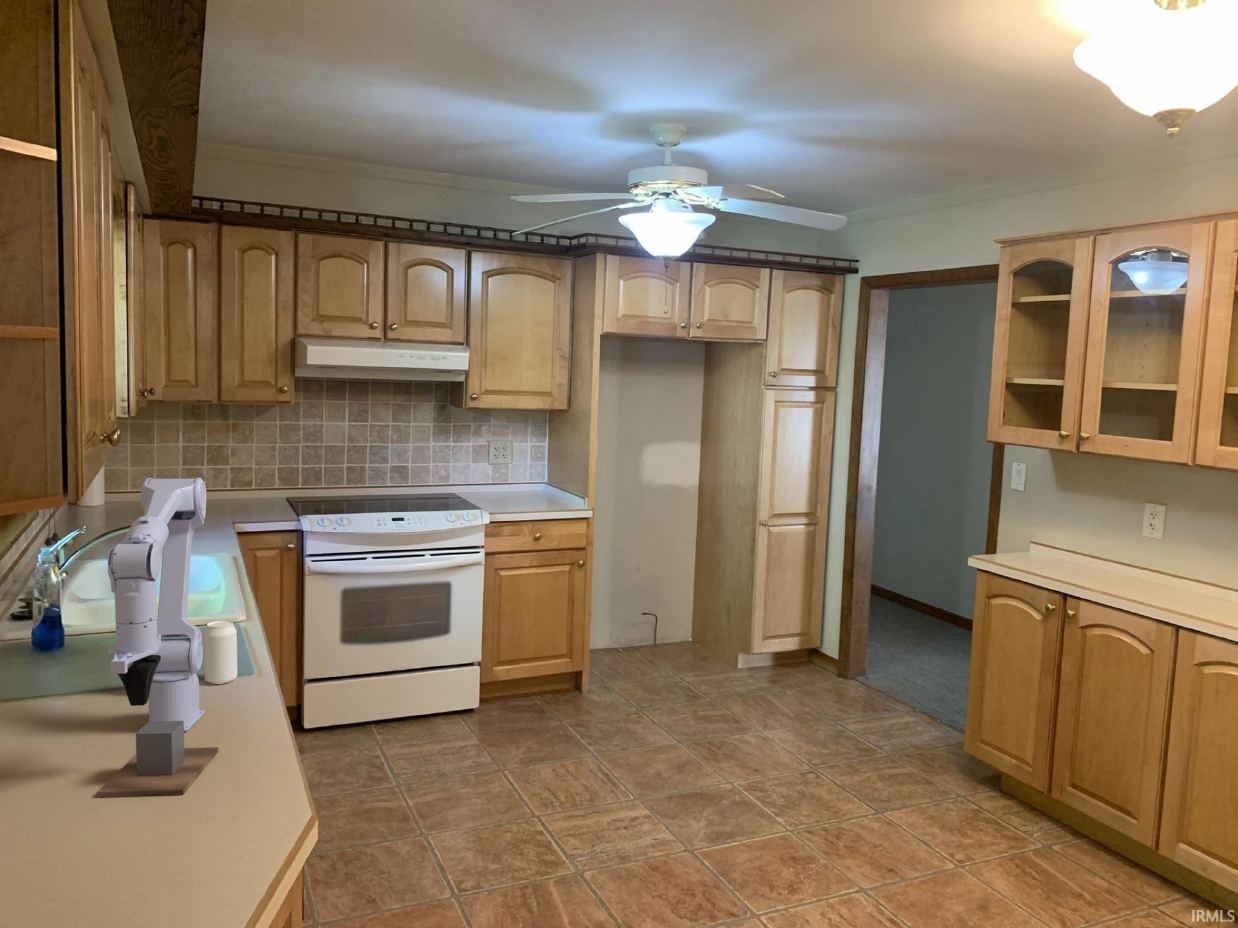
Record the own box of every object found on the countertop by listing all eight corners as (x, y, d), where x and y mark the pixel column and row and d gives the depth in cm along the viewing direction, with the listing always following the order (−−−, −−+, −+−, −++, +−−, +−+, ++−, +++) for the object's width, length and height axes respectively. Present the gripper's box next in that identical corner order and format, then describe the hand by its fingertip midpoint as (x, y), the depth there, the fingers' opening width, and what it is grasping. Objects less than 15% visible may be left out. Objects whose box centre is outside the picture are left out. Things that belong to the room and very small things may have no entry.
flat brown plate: (142, 753, 151) (141, 719, 150) (218, 751, 152) (217, 717, 152) (97, 797, 135) (96, 758, 134) (183, 794, 136) (182, 756, 136)
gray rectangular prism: (150, 761, 146) (149, 721, 145) (184, 760, 146) (183, 720, 146) (136, 775, 141) (135, 733, 140) (172, 774, 141) (171, 733, 141)
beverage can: (215, 675, 191) (214, 618, 190) (243, 677, 190) (242, 620, 189) (198, 685, 185) (196, 626, 184) (226, 686, 184) (225, 628, 183)
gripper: (128, 608, 150) (130, 689, 151) (88, 632, 136) (91, 721, 137) (173, 607, 151) (175, 688, 152) (138, 631, 137) (141, 720, 138)
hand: (138, 703), depth 145 cm, fingers closed
